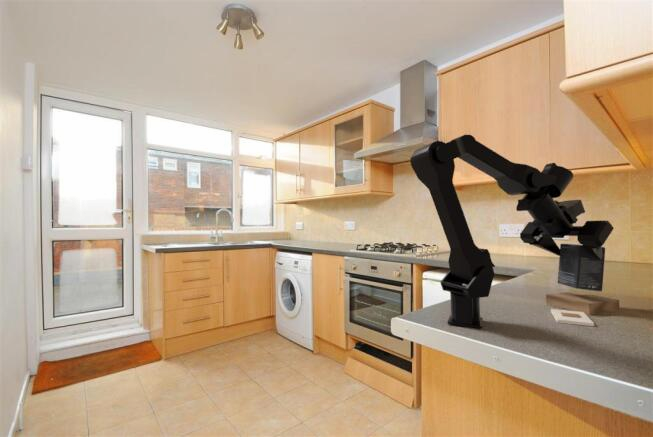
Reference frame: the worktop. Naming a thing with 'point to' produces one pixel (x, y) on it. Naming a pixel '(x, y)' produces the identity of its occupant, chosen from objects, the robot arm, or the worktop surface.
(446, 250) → the worktop surface
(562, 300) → the walnut slab
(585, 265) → the box
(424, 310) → the worktop surface
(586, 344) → the worktop surface
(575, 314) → the card
